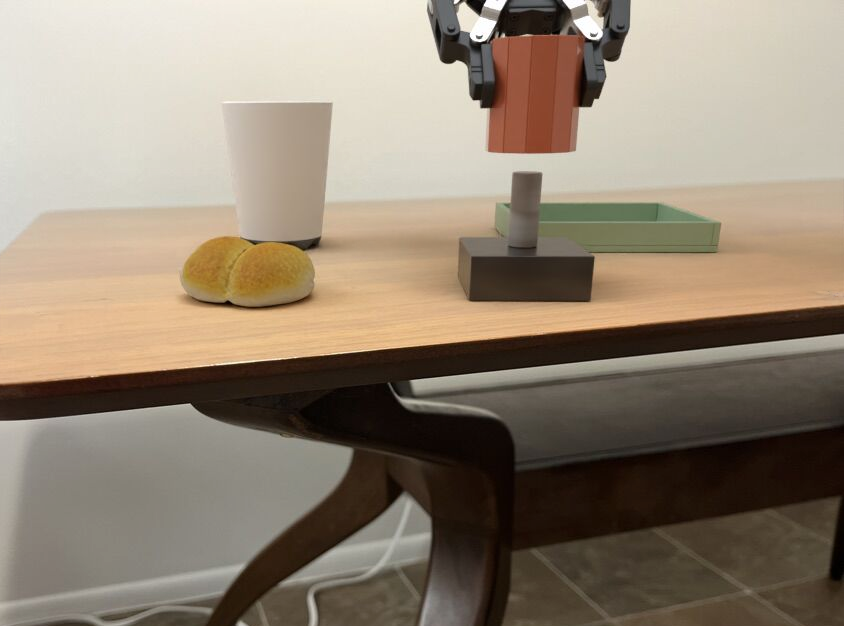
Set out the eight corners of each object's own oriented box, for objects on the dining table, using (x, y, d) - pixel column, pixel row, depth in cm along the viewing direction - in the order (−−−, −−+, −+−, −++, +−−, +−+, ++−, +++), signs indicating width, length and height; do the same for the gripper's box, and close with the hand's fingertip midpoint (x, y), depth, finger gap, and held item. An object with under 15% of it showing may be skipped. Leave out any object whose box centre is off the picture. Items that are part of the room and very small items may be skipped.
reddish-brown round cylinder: (564, 148, 57) (572, 41, 55) (584, 153, 52) (593, 34, 50) (481, 149, 58) (485, 42, 55) (492, 154, 52) (497, 35, 50)
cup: (270, 258, 69) (265, 100, 65) (207, 244, 76) (199, 101, 72) (355, 245, 76) (356, 100, 71) (290, 233, 83) (287, 101, 78)
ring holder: (564, 277, 61) (573, 167, 59) (590, 301, 54) (603, 177, 51) (457, 276, 62) (462, 168, 59) (469, 300, 54) (475, 177, 51)
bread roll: (287, 313, 51) (285, 250, 50) (164, 302, 54) (160, 242, 53) (335, 287, 58) (334, 230, 57) (225, 278, 61) (222, 225, 60)
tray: (659, 227, 85) (662, 202, 84) (717, 252, 71) (721, 222, 70) (494, 227, 86) (495, 202, 85) (518, 252, 72) (520, 222, 71)
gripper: (422, -122, 56) (429, 53, 49) (633, -128, 56) (672, 49, 48) (417, -26, 63) (422, 141, 56) (605, -30, 62) (636, 139, 55)
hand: (538, 97), depth 52 cm, fingers closed on reddish-brown round cylinder, 6 cm apart
